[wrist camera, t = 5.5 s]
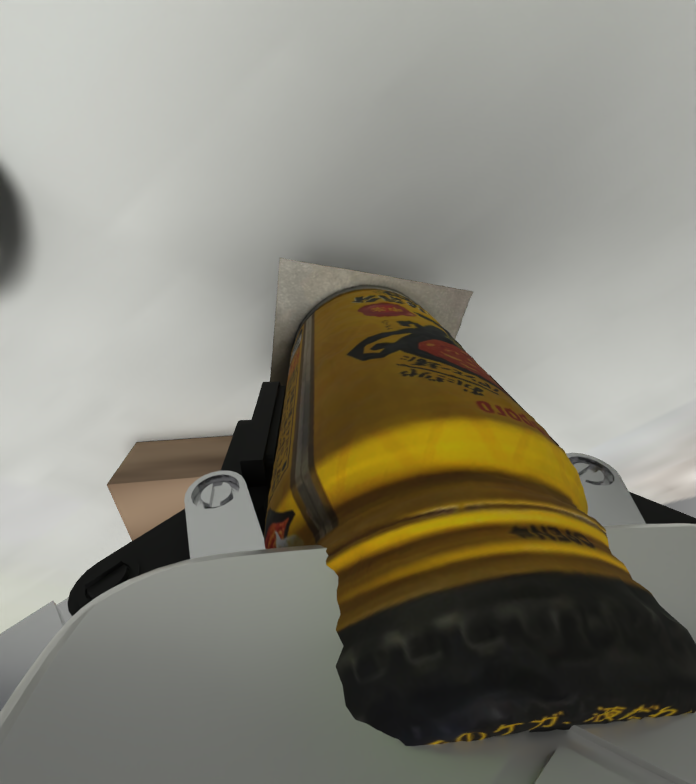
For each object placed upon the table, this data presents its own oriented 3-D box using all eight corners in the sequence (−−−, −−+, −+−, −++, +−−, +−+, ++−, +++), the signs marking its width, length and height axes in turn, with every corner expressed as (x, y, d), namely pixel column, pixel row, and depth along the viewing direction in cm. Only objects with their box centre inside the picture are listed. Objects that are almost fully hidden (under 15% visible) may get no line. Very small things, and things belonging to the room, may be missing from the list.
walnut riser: (136, 442, 23) (106, 484, 19) (286, 432, 24) (283, 470, 20) (172, 541, 28) (154, 589, 24) (296, 528, 29) (295, 573, 25)
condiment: (471, 290, 13) (1081, 647, 3) (412, 458, 17) (560, 863, 7) (279, 256, 12) (13, 645, 1) (265, 445, 16) (165, 908, 6)
